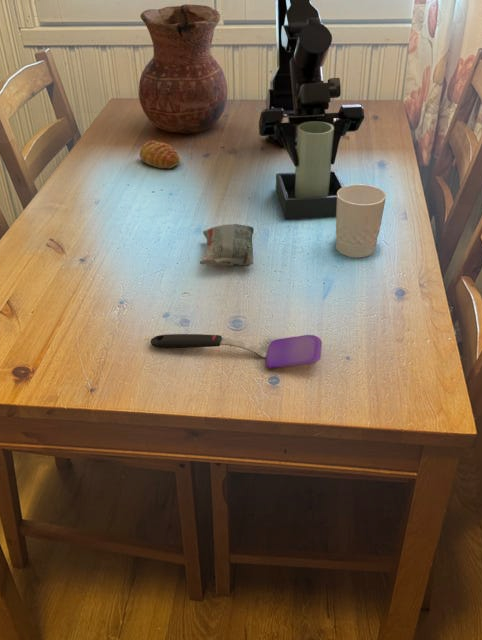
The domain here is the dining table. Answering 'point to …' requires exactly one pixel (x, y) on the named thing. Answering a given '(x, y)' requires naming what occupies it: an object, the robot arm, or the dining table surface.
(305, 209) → the tub
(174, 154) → the pastry
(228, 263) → the packaged food
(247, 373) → the dining table surface
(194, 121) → the jug
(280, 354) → the spatula
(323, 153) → the tumbler
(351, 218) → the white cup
